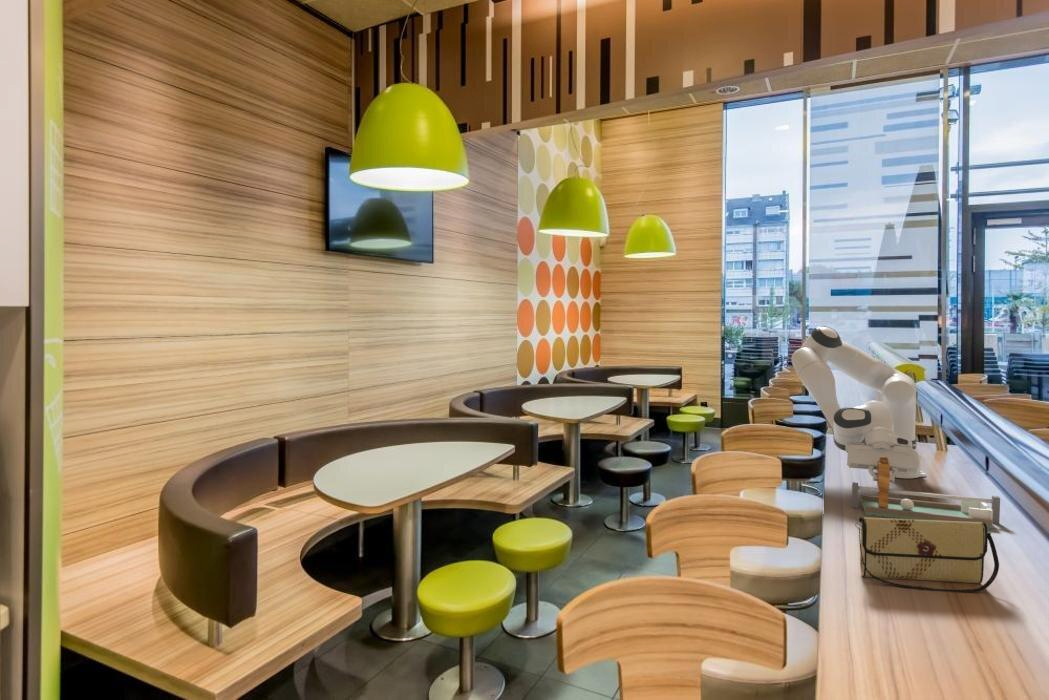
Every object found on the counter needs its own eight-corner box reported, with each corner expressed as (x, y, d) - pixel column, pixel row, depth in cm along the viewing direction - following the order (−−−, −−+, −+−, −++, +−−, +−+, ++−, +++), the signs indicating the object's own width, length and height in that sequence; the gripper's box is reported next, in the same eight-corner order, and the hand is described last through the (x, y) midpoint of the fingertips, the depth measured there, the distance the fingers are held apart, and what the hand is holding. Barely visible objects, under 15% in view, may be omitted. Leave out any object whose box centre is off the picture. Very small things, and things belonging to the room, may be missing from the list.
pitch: (850, 500, 195) (850, 477, 194) (991, 516, 179) (992, 490, 178) (853, 513, 183) (854, 488, 183) (1005, 530, 167) (1006, 503, 166)
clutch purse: (863, 587, 135) (864, 524, 134) (851, 573, 142) (853, 514, 141) (1006, 595, 130) (1008, 531, 129) (987, 581, 137) (989, 520, 136)
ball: (899, 507, 185) (899, 496, 185) (912, 508, 183) (912, 497, 183) (901, 511, 182) (901, 499, 181) (914, 512, 180) (915, 501, 180)
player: (876, 503, 188) (877, 454, 187) (887, 504, 186) (888, 455, 185) (878, 506, 184) (879, 457, 183) (889, 508, 183) (890, 457, 182)
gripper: (845, 436, 195) (847, 472, 186) (917, 441, 186) (922, 479, 178) (844, 446, 199) (846, 482, 191) (914, 451, 190) (919, 489, 182)
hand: (883, 480), depth 184 cm, fingers closed on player, 3 cm apart
